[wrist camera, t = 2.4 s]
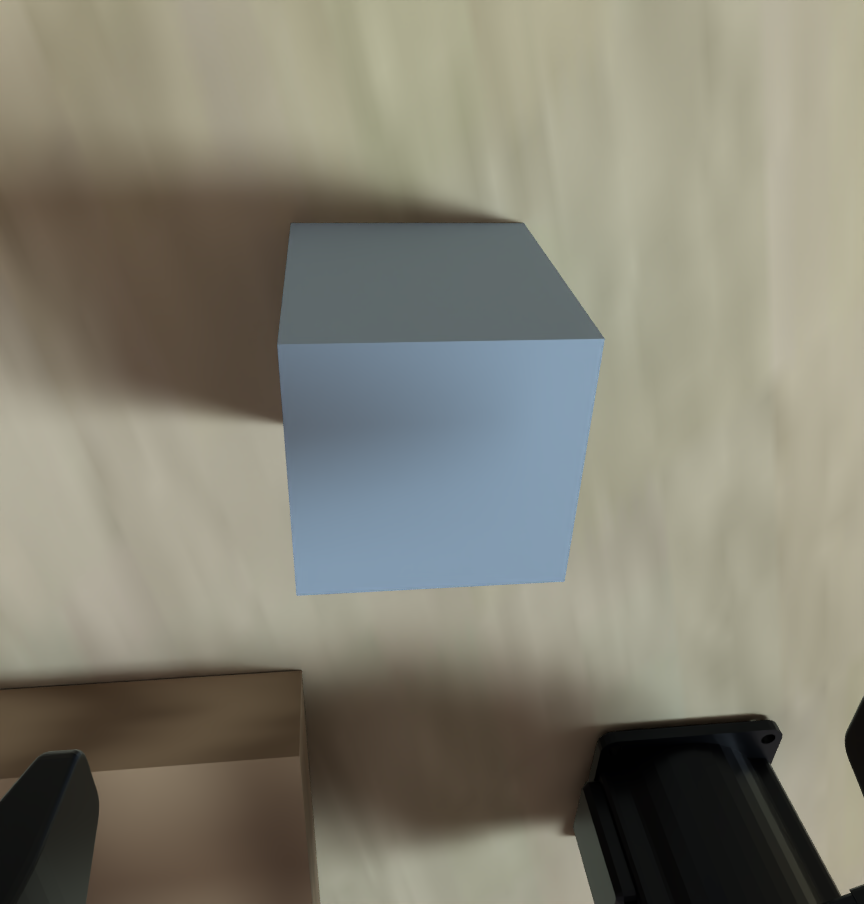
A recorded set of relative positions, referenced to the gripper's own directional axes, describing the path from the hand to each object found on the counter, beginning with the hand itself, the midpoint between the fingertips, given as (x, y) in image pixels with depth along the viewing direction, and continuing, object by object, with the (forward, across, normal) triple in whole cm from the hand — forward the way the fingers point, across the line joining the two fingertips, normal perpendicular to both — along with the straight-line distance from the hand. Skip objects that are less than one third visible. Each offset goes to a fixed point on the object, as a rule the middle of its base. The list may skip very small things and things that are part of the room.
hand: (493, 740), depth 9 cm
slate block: (+11, 0, 0) cm, 11 cm away
